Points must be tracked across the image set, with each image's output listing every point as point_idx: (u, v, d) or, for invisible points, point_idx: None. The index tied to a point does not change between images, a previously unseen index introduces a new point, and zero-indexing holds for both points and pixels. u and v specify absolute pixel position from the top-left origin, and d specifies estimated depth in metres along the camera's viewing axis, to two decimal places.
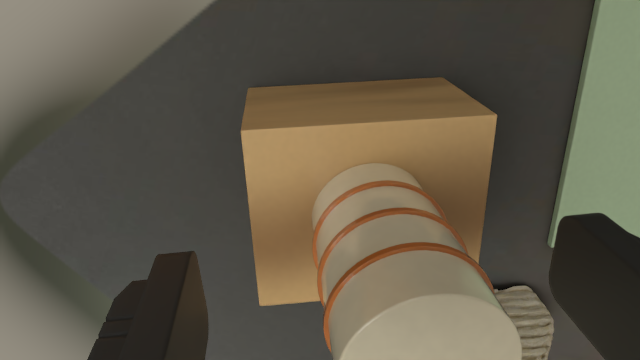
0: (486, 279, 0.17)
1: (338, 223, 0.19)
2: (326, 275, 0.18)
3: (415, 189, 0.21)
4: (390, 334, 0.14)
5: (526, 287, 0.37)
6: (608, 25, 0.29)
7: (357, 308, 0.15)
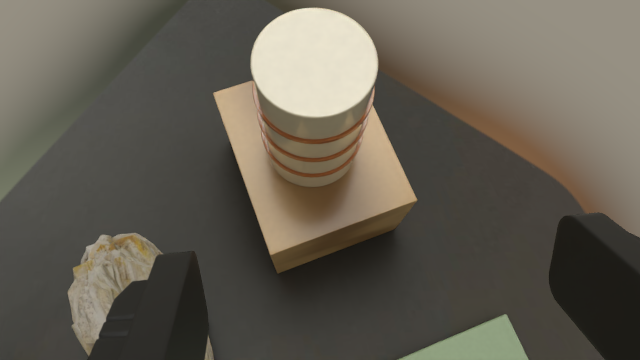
0: (361, 119, 0.24)
1: None
2: None
3: None
4: (337, 27, 0.23)
5: None
6: (484, 336, 0.35)
7: None
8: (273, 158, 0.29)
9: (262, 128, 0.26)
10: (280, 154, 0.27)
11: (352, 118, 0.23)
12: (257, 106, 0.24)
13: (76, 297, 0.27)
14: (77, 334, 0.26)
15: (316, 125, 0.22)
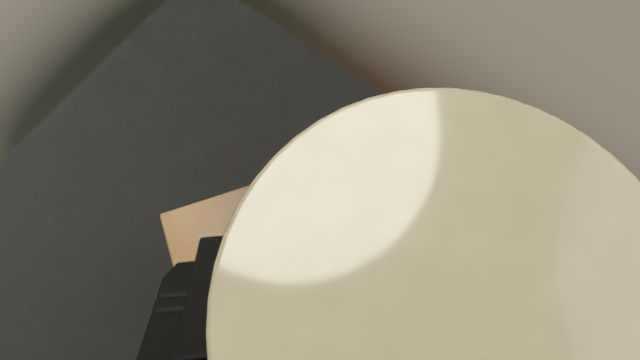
0: None
1: None
2: None
3: None
4: (536, 166, 0.06)
5: None
6: None
7: None
8: None
9: None
10: None
11: None
12: None
13: None
14: None
15: None
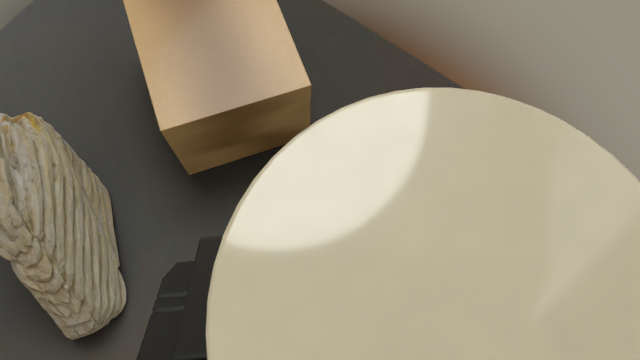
0: None
1: None
2: None
3: None
4: (535, 166, 0.06)
5: (124, 301, 0.33)
6: None
7: None
8: None
9: None
10: None
11: None
12: None
13: None
14: None
15: None
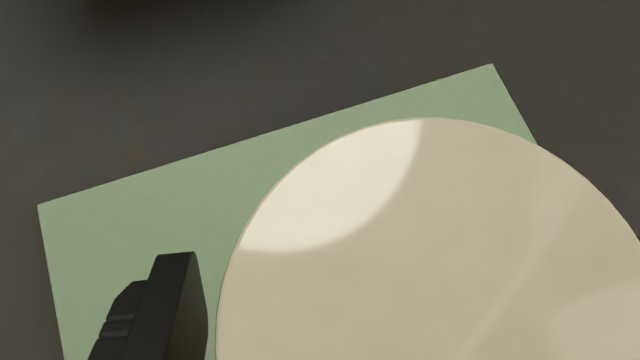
0: None
1: None
2: None
3: None
4: (517, 190, 0.07)
5: None
6: (449, 95, 0.19)
7: None
8: None
9: None
10: None
11: None
12: None
13: None
14: None
15: None
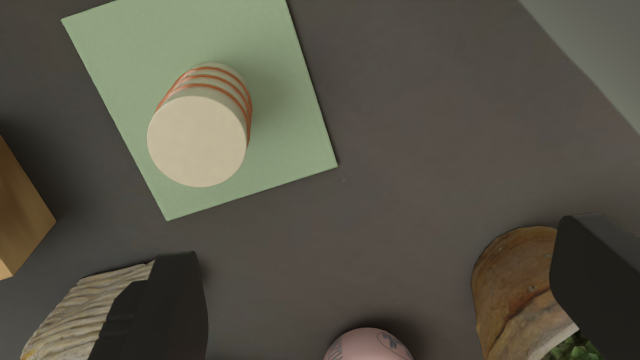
0: (231, 96, 0.31)
1: None
2: None
3: (214, 68, 0.35)
4: (165, 125, 0.29)
5: None
6: (86, 46, 0.36)
7: None
8: None
9: None
10: None
11: (237, 110, 0.30)
12: None
13: None
14: None
15: None
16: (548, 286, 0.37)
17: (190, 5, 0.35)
